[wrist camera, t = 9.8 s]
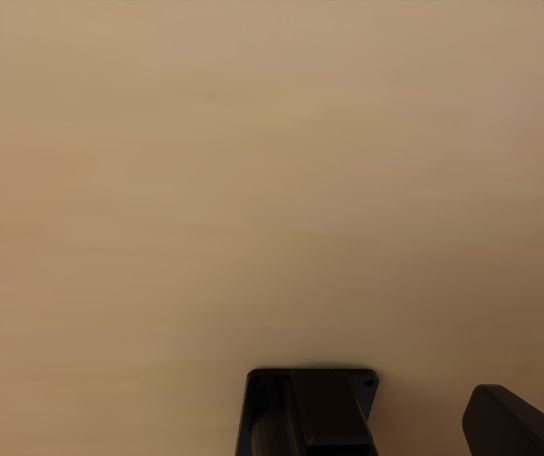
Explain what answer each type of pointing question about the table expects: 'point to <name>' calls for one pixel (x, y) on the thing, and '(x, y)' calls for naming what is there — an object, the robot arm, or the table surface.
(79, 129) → the table surface
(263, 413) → the robot arm
